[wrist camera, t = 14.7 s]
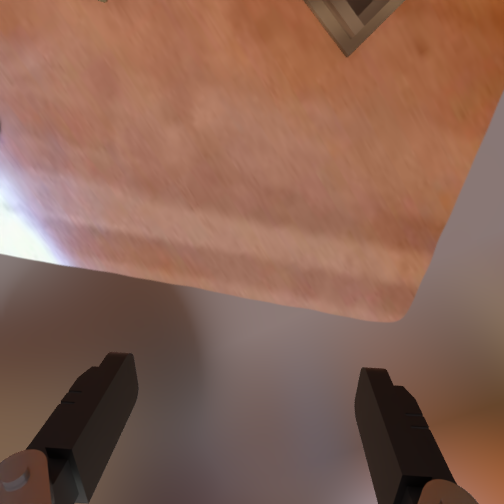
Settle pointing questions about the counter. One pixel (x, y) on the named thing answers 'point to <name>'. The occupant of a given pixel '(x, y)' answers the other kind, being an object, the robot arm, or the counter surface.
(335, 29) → the walnut tray
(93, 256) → the counter surface
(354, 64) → the counter surface
